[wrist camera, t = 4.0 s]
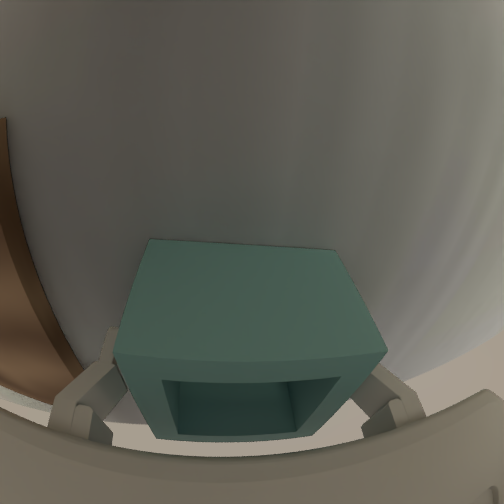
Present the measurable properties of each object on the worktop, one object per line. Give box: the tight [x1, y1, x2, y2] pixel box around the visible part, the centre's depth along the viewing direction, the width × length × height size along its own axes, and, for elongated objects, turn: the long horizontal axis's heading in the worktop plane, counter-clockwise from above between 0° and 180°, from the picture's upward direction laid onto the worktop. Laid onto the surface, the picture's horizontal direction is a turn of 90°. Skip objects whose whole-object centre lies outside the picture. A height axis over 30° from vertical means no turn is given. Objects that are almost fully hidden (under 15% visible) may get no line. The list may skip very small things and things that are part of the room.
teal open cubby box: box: [113, 239, 388, 442], centre depth 10 cm, size 10×7×5 cm, turn 172°
